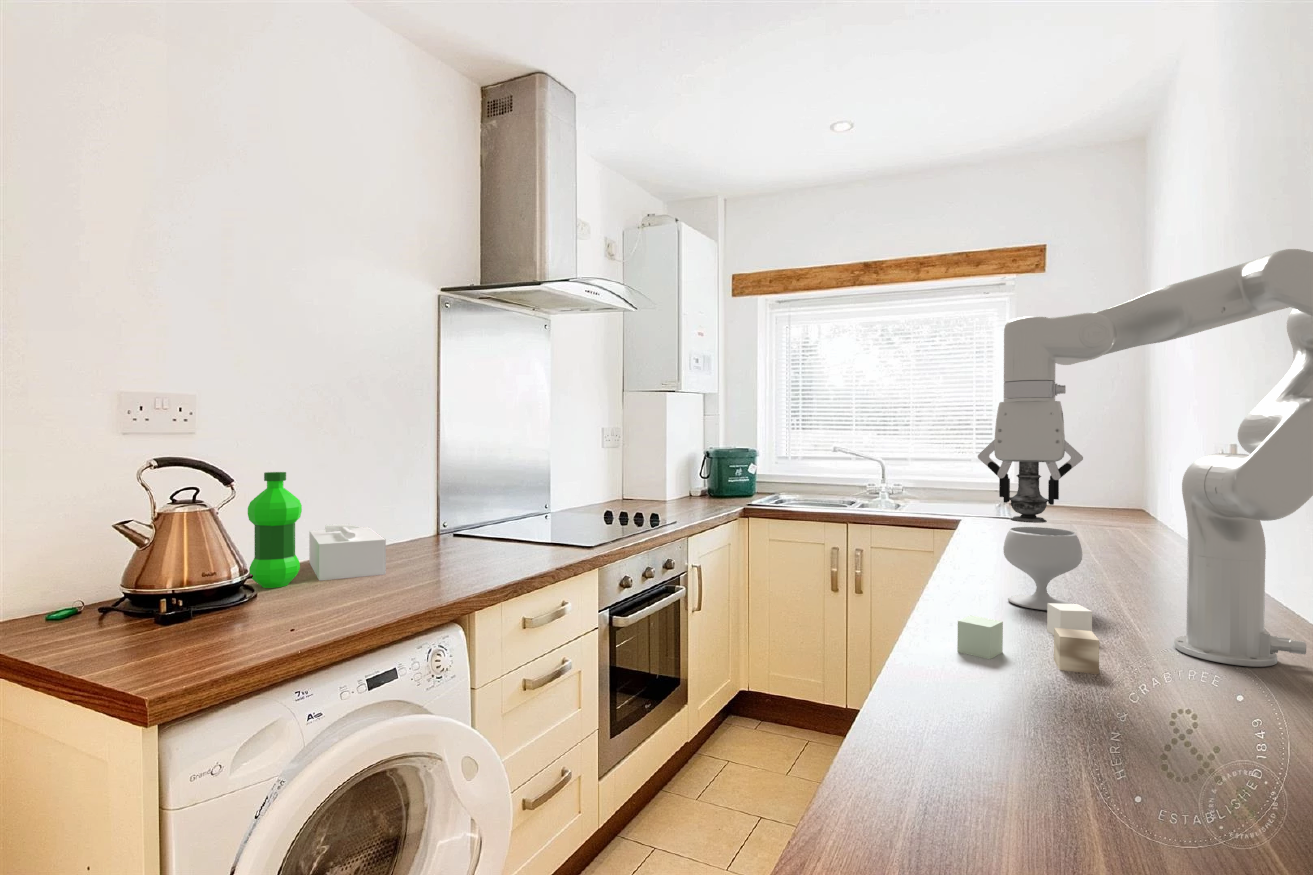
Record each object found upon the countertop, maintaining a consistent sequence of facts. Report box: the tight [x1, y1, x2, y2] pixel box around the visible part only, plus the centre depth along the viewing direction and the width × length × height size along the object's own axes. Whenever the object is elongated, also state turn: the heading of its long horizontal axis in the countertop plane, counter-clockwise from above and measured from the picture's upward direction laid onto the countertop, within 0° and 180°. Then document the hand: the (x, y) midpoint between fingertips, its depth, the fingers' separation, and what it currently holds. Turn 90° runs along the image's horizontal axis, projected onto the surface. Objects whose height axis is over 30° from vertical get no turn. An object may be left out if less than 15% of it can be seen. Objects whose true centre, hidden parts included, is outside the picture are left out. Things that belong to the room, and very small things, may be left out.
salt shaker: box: [1009, 462, 1048, 524], centre depth 115 cm, size 6×6×12 cm
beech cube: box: [1053, 628, 1100, 675], centre depth 104 cm, size 5×5×5 cm
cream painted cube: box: [1046, 603, 1093, 636], centre depth 120 cm, size 5×5×5 cm
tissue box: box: [308, 523, 387, 582], centre depth 175 cm, size 14×25×11 cm, turn 31°
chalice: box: [1003, 526, 1083, 611], centre depth 142 cm, size 14×14×15 cm
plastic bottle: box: [247, 471, 303, 589], centre depth 155 cm, size 10×10×25 cm
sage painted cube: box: [956, 614, 1004, 660], centre depth 111 cm, size 5×5×5 cm
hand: (1028, 501), depth 115 cm, fingers closed on salt shaker, 5 cm apart
